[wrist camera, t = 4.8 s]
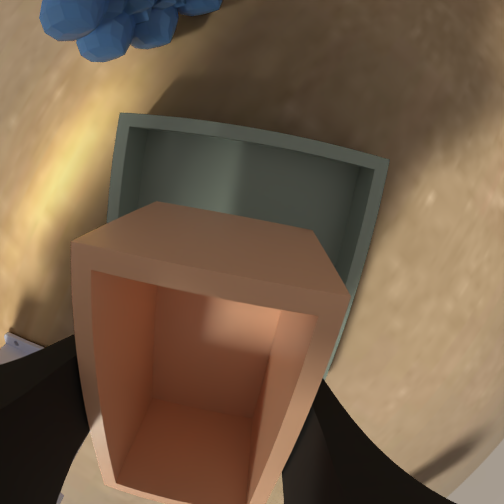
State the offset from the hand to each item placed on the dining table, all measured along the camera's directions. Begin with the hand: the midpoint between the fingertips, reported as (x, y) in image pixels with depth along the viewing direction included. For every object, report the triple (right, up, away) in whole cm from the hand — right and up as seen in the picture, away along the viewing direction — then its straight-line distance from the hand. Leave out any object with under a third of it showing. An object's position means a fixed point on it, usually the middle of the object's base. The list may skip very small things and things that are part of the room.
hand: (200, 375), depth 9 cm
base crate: (0, +3, +8) cm, 9 cm away
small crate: (0, +1, +3) cm, 3 cm away
